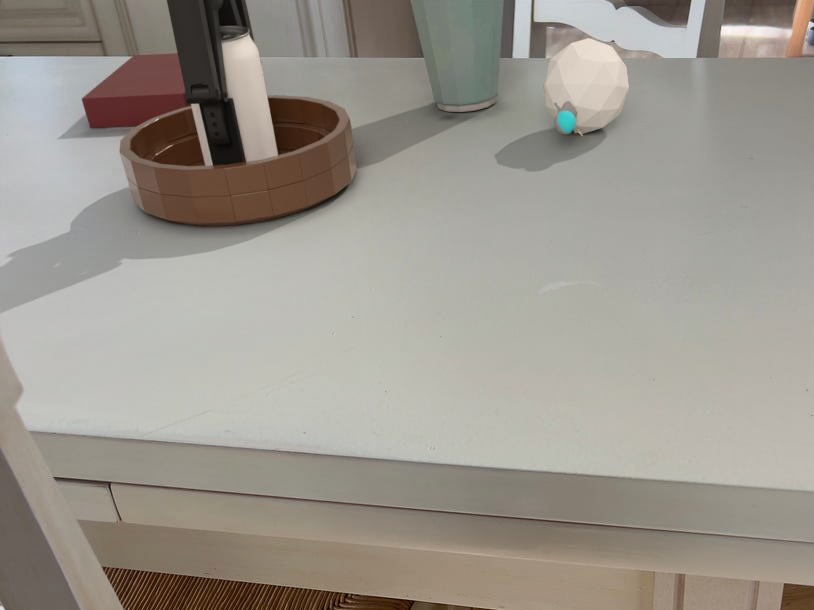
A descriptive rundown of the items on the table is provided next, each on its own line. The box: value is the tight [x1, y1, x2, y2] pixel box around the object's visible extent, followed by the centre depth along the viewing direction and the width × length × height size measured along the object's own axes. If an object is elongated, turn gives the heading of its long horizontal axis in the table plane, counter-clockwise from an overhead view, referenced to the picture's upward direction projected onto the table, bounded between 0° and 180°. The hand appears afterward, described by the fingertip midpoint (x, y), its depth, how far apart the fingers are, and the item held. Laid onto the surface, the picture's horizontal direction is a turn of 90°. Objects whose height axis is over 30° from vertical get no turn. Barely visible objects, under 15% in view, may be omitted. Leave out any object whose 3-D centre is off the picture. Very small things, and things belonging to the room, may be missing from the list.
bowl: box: [119, 94, 358, 227], centre depth 90 cm, size 20×20×5 cm
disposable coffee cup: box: [410, 0, 505, 113], centre depth 102 cm, size 11×11×15 cm
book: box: [81, 52, 191, 129], centre depth 113 cm, size 12×17×3 cm
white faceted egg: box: [542, 37, 630, 137], centre depth 94 cm, size 8×8×12 cm
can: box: [191, 25, 278, 166], centre depth 87 cm, size 6×6×12 cm
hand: (242, 164), depth 90 cm, fingers closed on can, 6 cm apart
